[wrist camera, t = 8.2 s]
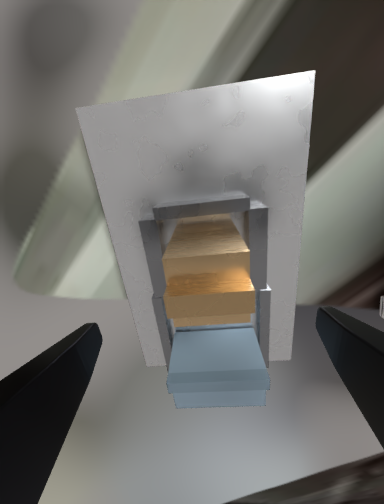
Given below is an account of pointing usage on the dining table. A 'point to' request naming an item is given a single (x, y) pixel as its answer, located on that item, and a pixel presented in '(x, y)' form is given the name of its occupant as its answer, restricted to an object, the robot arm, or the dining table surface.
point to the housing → (217, 369)
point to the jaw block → (208, 275)
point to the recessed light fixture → (382, 300)
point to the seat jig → (206, 193)
